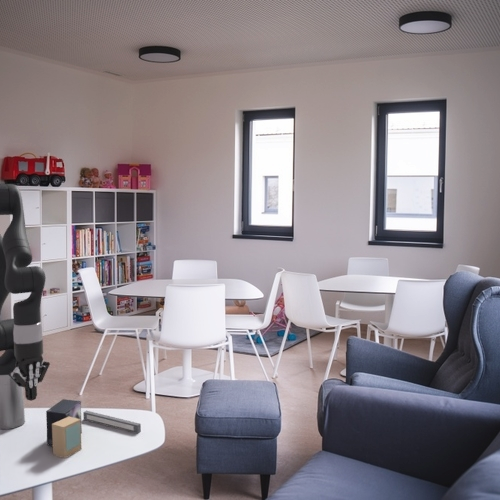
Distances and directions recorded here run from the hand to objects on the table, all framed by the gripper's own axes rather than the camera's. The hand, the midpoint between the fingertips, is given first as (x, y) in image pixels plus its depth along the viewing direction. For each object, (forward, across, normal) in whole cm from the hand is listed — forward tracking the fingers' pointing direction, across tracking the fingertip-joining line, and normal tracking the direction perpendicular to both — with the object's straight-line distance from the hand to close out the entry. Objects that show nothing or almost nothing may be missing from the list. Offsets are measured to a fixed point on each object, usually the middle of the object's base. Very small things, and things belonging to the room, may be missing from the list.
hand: (31, 399), depth 184 cm
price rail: (+16, -27, +5) cm, 32 cm away
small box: (+16, -12, 0) cm, 20 cm away
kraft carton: (+16, -6, +7) cm, 19 cm away
